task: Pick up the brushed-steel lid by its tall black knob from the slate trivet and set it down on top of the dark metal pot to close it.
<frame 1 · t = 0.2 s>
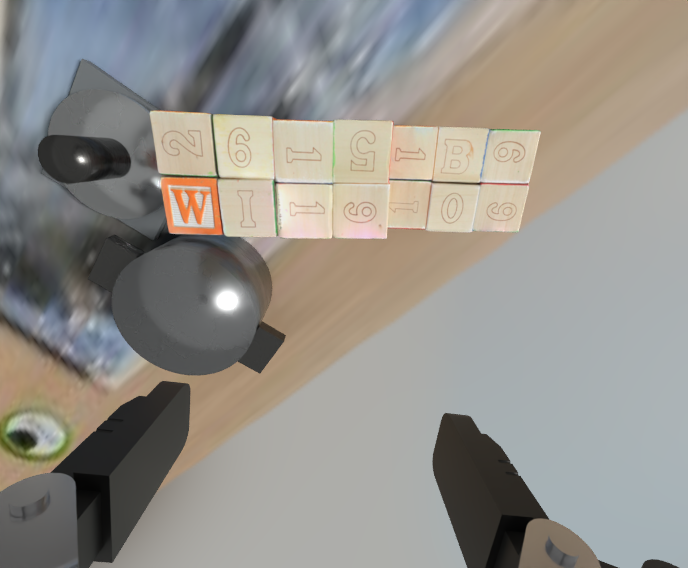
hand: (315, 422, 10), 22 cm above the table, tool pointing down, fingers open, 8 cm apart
stack of blocks: (353, 171, 29), on the table
trivet: (126, 157, 28), on the table
pot: (215, 284, 32), on the table
lid: (121, 158, 27), point 1 cm above the table, touching trivet
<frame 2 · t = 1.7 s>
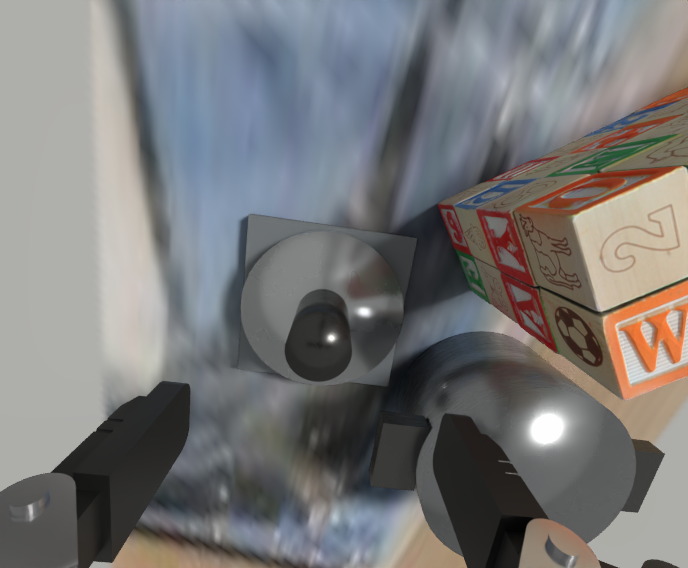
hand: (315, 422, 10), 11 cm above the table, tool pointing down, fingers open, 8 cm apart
stack of blocks: (613, 175, 20), on the table
trivet: (323, 302, 22), on the table
pot: (472, 403, 24), on the table
lid: (323, 306, 21), point 1 cm above the table, touching trivet
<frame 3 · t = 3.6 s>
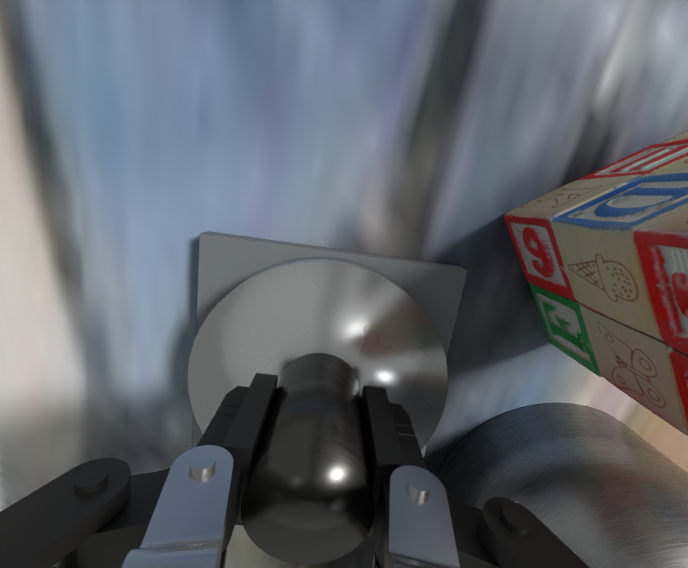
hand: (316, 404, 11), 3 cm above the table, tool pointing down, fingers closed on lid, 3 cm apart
trivet: (321, 364, 14), on the table
pot: (538, 501, 16), on the table
lid: (320, 373, 13), point 1 cm above the table, touching gripper, trivet
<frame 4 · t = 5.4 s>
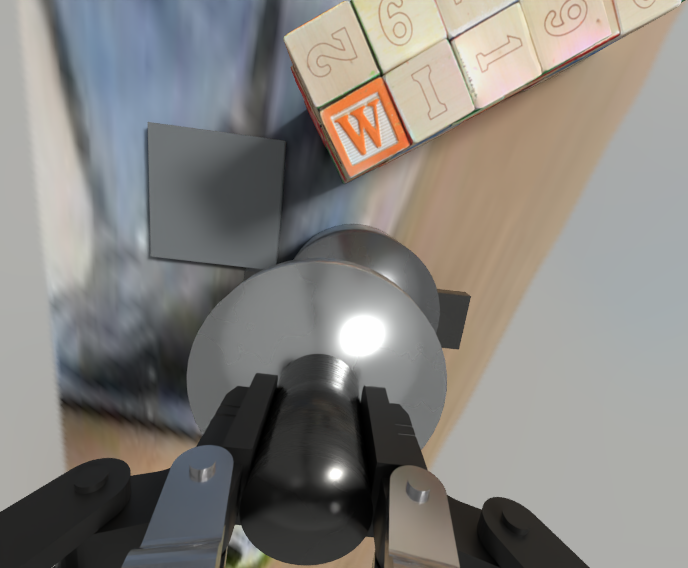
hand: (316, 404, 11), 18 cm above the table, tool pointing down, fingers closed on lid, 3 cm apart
stack of blocks: (449, 82, 25), on the table
trivet: (218, 200, 27), on the table
pot: (351, 288, 29), on the table
lid: (319, 374, 13), point 15 cm above the table, touching gripper
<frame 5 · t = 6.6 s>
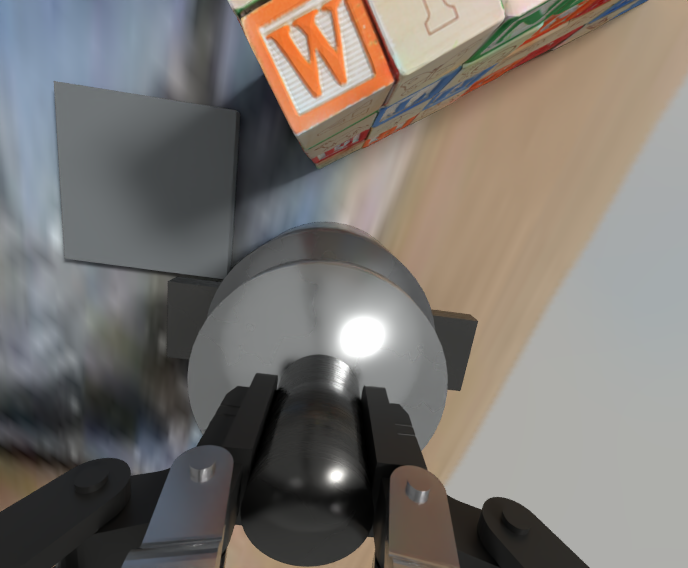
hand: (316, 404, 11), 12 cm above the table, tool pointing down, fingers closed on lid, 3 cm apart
stack of blocks: (455, 38, 19), on the table
trivet: (153, 188, 21), on the table
pot: (325, 303, 23), on the table
lid: (320, 375, 13), point 9 cm above the table, touching gripper
when the fingers open (10 cm above the table, at t = 7.6 s): lid stays where it is, resting on pot.
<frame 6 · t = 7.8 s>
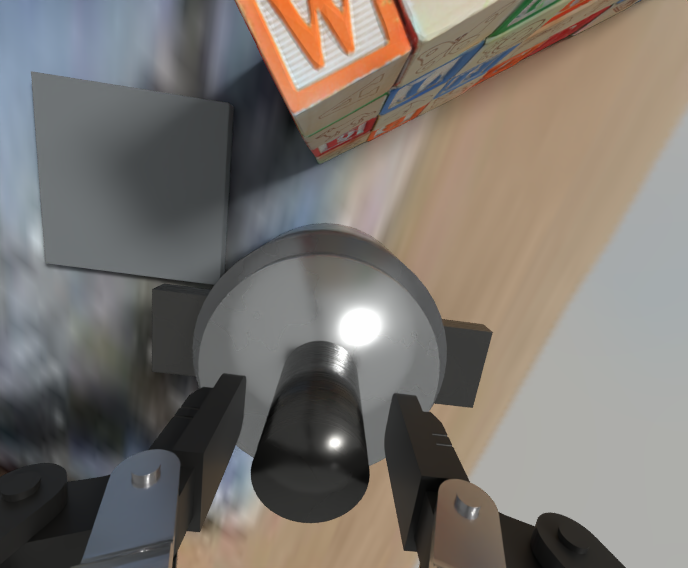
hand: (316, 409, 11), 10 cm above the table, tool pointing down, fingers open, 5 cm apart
stack of blocks: (468, 23, 18), on the table
trivet: (141, 187, 19), on the table
pot: (325, 310, 21), on the table
lid: (321, 361, 14), point 7 cm above the table, touching pot
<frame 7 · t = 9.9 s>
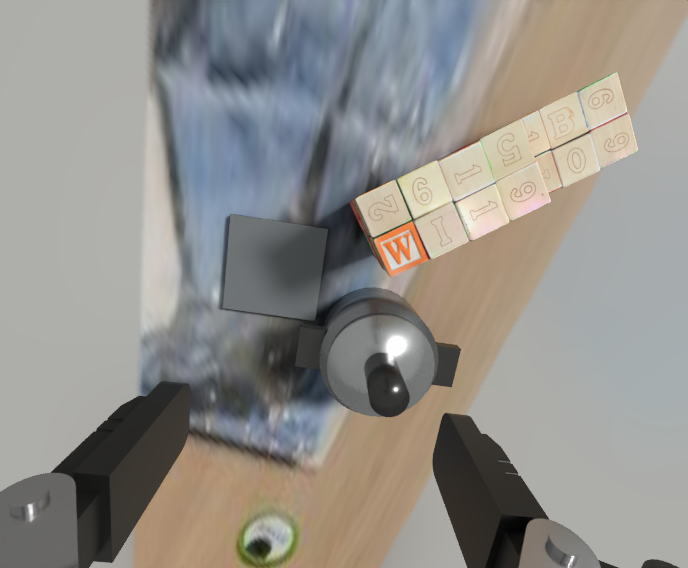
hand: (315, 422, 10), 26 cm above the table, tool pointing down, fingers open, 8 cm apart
stack of blocks: (453, 186, 35), on the table
trivet: (275, 268, 36), on the table
pot: (371, 335, 38), on the table
lid: (379, 362, 31), point 7 cm above the table, touching pot
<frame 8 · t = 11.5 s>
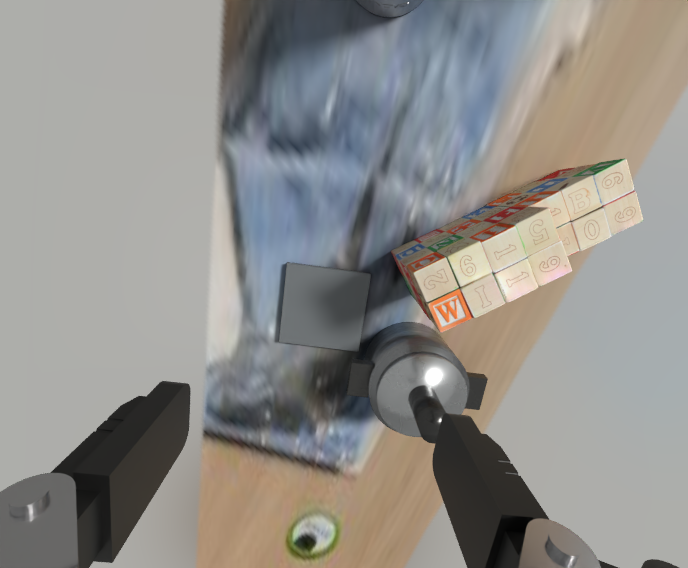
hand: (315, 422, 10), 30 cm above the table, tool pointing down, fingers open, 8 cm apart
stack of blocks: (480, 234, 40), on the table
trivet: (324, 307, 41), on the table
pot: (406, 361, 43), on the table
lid: (419, 391, 36), point 7 cm above the table, touching pot
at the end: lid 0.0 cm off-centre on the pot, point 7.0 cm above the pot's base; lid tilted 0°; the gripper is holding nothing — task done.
